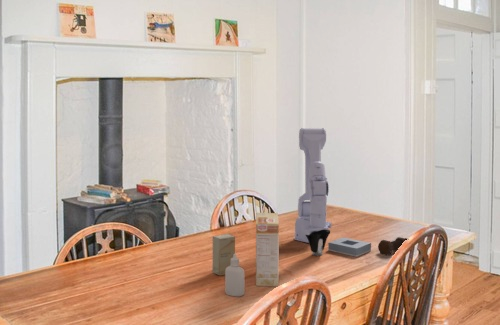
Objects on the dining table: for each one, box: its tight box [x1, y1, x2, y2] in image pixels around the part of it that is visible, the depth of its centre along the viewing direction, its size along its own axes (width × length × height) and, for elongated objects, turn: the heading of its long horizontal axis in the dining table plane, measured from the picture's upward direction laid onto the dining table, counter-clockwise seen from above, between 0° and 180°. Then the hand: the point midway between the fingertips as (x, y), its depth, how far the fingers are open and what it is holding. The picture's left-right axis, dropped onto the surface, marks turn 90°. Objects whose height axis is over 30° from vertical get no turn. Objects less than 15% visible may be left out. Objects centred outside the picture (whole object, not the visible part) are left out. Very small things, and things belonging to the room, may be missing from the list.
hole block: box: [327, 236, 372, 258], centre depth 211 cm, size 12×10×3 cm
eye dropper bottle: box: [224, 253, 245, 298], centre depth 166 cm, size 4×6×12 cm
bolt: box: [377, 236, 408, 256], centre depth 212 cm, size 6×5×15 cm
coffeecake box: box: [255, 212, 280, 287], centre depth 180 cm, size 15×7×20 cm, turn 178°
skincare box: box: [212, 233, 236, 276], centre depth 186 cm, size 6×4×12 cm
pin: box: [311, 237, 324, 257], centre depth 206 cm, size 4×4×6 cm
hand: (317, 250), depth 206 cm, fingers closed on pin, 4 cm apart
